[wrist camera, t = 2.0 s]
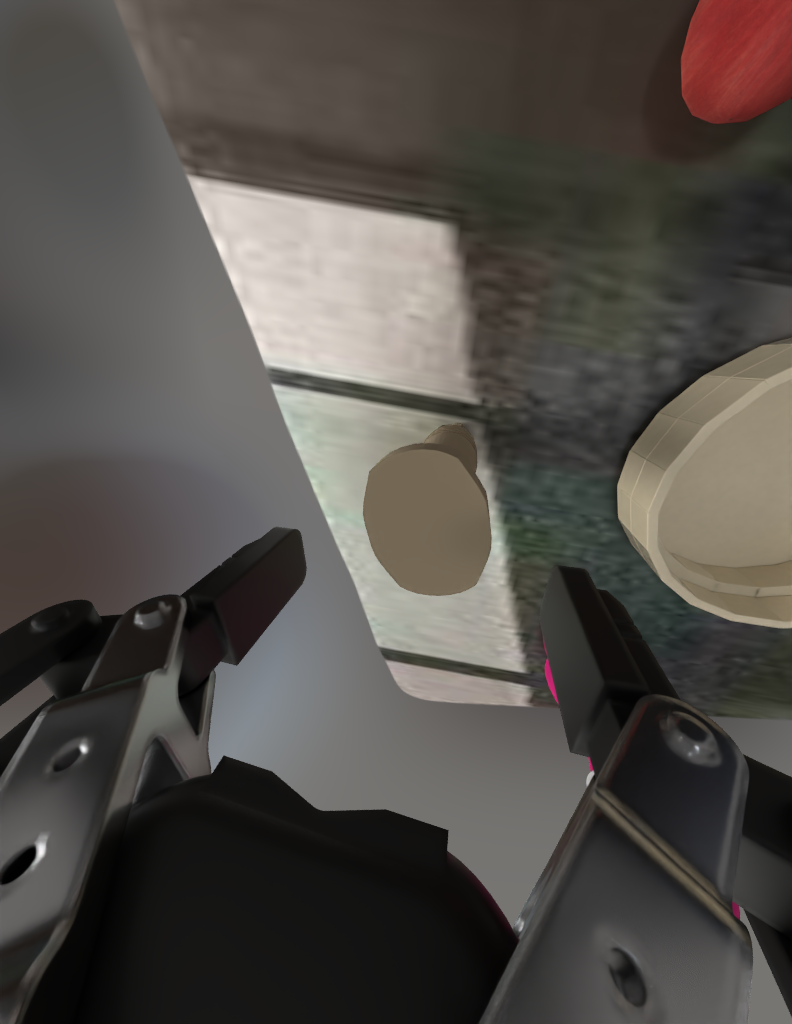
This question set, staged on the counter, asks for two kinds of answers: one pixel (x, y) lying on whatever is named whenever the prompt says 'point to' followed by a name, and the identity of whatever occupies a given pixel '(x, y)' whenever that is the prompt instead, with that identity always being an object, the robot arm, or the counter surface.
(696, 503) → the bowl
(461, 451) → the handle
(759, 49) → the onion
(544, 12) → the counter surface
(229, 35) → the counter surface
